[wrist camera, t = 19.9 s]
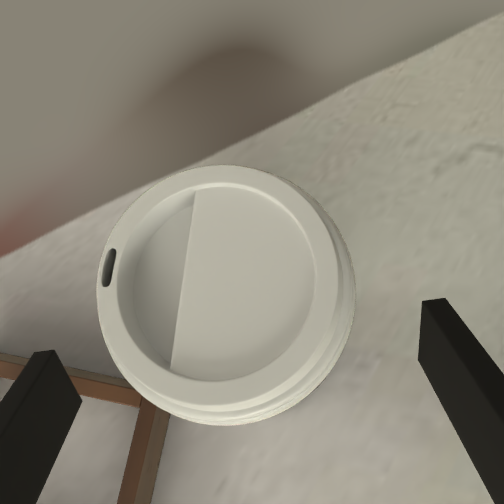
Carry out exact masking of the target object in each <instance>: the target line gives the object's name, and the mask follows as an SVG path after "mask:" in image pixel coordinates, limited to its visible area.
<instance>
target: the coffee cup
mask: <svg viewBox="0 0 504 504" xmlns="http://www.w3.org/2000/svg"><path fill="white" fill-rule="evenodd" d="M96 293H97V307H98V316H99V322H100V327H101V331H102V334H103V337H104V340H105V343H106V346H107V348H108V350H109V353H110V355H111V357H112V359H113V361H114V362H115V364H116V366H117V367H118V369H119V370H120V372H121V373H122V375H123V376H124V377H125V378H126V380H127V381H128V382H129V383H130V384H131V385H132V386H133V387H134V388H135V389H136V390H137V391H138V392H139V393H140V394H141V395H142V396H143V397H145V398H146V399H147V400H149V401H150V402H151V403H153V404H154V405H156V406H158V407H159V408H161V409H163V410H165V411H167V412H168V413H170V414H173V415H175V416H177V417H180V418H183V419H185V420H189V421H192V422H196V423H201V424H207V425H218V426H231V425H241V424H248V423H253V422H257V421H260V420H264V419H267V418H269V417H272V416H274V415H277V414H279V413H281V412H283V411H285V410H287V409H289V408H290V407H292V406H294V405H295V404H297V403H298V402H300V401H301V400H302V399H304V398H305V397H306V396H307V395H309V394H310V393H311V392H312V391H313V390H314V389H315V388H316V387H317V386H318V385H319V384H320V383H321V382H322V381H323V380H324V379H325V377H326V376H327V375H328V374H329V372H330V371H331V370H332V368H333V367H334V365H335V364H336V362H337V360H338V359H339V357H340V355H341V353H342V351H343V349H344V347H345V345H346V342H347V340H348V337H349V334H350V331H351V327H352V323H353V318H354V313H355V304H356V283H355V275H354V269H353V264H352V261H351V257H350V254H349V251H348V248H347V246H346V243H345V241H344V239H343V237H342V235H341V233H340V231H339V230H338V228H337V226H336V225H335V223H334V221H333V220H332V219H331V217H330V216H329V215H328V213H327V212H326V211H325V210H324V208H323V207H322V206H321V205H320V204H319V203H318V202H317V201H316V200H315V199H314V198H312V197H311V196H310V195H309V194H308V193H306V192H305V191H304V190H302V189H301V188H299V187H298V186H296V185H295V184H293V183H291V182H289V181H287V180H285V179H283V178H281V177H279V176H277V175H274V174H271V173H269V172H265V171H262V170H258V169H253V168H249V167H244V166H237V165H209V166H202V167H197V168H193V169H189V170H186V171H183V172H180V173H177V174H175V175H173V176H170V177H168V178H166V179H164V180H163V181H161V182H159V183H157V184H156V185H154V186H153V187H151V188H150V189H149V190H147V191H146V192H145V193H143V194H142V195H141V196H140V197H139V198H138V199H137V200H136V201H134V202H133V203H132V205H131V206H130V207H129V208H128V209H127V210H126V211H125V212H124V214H123V215H122V216H121V218H120V219H119V221H118V222H117V224H116V225H115V227H114V229H113V230H112V232H111V234H110V236H109V238H108V240H107V242H106V245H105V247H104V250H103V253H102V256H101V260H100V264H99V269H98V275H97V290H96Z"/></svg>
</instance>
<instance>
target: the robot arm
mask: <svg viewBox="0 0 504 504" xmlns="http://www.w3.org/2000/svg"><path fill="white" fill-rule="evenodd" d="M418 361H419V363H420V364H421V366H422V368H423V370H424V372H425V374H426V376H427V378H428V380H429V381H430V383H431V385H432V387H433V389H434V391H435V393H436V395H437V396H438V398H439V400H440V402H441V404H442V406H443V408H444V410H445V411H446V413H447V415H448V417H449V419H450V421H451V423H452V425H453V426H454V428H455V430H456V432H457V434H458V436H459V438H460V440H461V441H462V443H463V445H464V447H465V449H466V451H467V453H468V455H469V456H470V458H471V460H472V462H473V464H474V466H475V468H476V470H477V471H478V473H479V475H480V477H481V479H482V481H483V483H484V485H485V486H486V488H487V490H488V492H489V494H490V496H491V498H492V500H493V501H494V503H495V504H504V374H503V373H502V372H501V370H500V369H499V368H498V366H497V365H496V364H495V362H494V361H493V360H492V358H491V357H490V356H489V355H488V353H487V352H486V351H485V349H484V348H483V347H482V345H481V344H480V343H479V341H478V340H477V339H476V338H475V336H474V335H473V334H472V332H471V331H470V330H469V328H468V327H467V326H466V324H465V323H464V322H463V321H462V319H461V318H460V317H459V315H458V314H457V313H456V311H455V310H454V309H453V307H452V306H451V305H450V304H449V302H448V301H447V300H446V298H441V299H434V300H426V301H422V311H421V325H420V339H419V353H418ZM81 403H82V399H81V397H80V396H79V394H78V392H77V390H76V388H75V386H74V385H73V383H72V381H71V379H70V377H69V376H68V374H67V372H66V370H65V368H64V366H63V365H62V363H61V361H60V359H59V357H58V355H57V354H56V352H55V350H49V351H41V352H34V354H33V355H32V357H31V358H30V359H29V361H28V362H27V364H26V365H25V367H24V368H23V370H22V371H21V373H20V374H19V376H18V377H17V379H16V380H15V382H14V383H13V385H12V386H11V388H10V389H9V390H8V392H7V393H6V395H5V396H4V398H3V399H2V401H1V402H0V504H36V502H37V500H38V498H39V496H40V494H41V491H42V489H43V487H44V485H45V483H46V480H47V478H48V476H49V474H50V472H51V469H52V467H53V465H54V463H55V461H56V458H57V456H58V454H59V452H60V449H61V447H62V445H63V443H64V441H65V438H66V436H67V434H68V432H69V430H70V427H71V425H72V423H73V421H74V419H75V416H76V414H77V412H78V410H79V408H80V405H81Z"/></svg>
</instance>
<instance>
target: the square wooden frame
mask: <svg viewBox="0 0 504 504" xmlns="http://www.w3.org/2000/svg"><path fill="white" fill-rule="evenodd" d="M28 361H29V359H28V358H23V357H18V356H14V355H9V354H4V353H0V377H3V378H7V379H12V380H16V379H17V377H18V376H19V374H20V373H21V371H22V370H23V368H24V367H25V365H26V364H27V362H28ZM64 368H65V370H66V372H67V374H68V376H69V377H70V379H71V381H72V383H73V385H74V386H75V388H76V390H77V392H78V394H79V395H83V396H88V397H92V398H97V399H101V400H106V401H110V402H115V403H119V404H124V405H128V406H132V407H137V408H140V410H139V414H138V418H137V422H136V426H135V431H134V435H133V439H132V443H131V447H130V451H129V455H128V460H127V464H126V468H125V472H124V476H123V480H122V484H121V488H120V493H119V497H118V501H117V504H150V503H151V499H152V494H153V490H154V485H155V481H156V476H157V472H158V467H159V463H160V458H161V454H162V449H163V445H164V440H165V436H166V431H167V427H168V422H169V418H170V413H168V412H167V411H165V410H163V409H161V408H159V407H158V406H156V405H154V404H153V403H151V402H150V401H149V400H147V399H146V398H145V397H143V396H142V395H141V394H140V393H139V392H138V391H137V390H136V389H135V388H134V387H133V386H132V385H131V384H130V383H129V382H128V381H127V380H126V379H122V378H117V377H112V376H107V375H103V374H98V373H93V372H89V371H84V370H79V369H75V368H70V367H65V366H64Z"/></svg>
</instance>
